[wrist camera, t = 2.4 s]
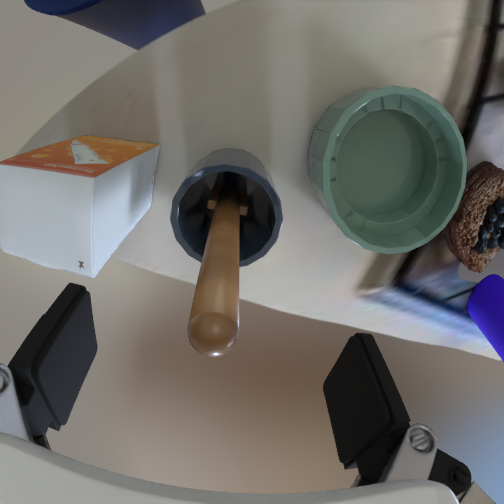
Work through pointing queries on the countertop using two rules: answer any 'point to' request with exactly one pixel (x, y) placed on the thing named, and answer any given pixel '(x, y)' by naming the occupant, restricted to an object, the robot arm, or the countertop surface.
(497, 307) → the bottle
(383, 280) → the countertop surface
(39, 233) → the small box
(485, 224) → the pastry
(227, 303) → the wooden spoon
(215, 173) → the crock
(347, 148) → the bowl
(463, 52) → the countertop surface
